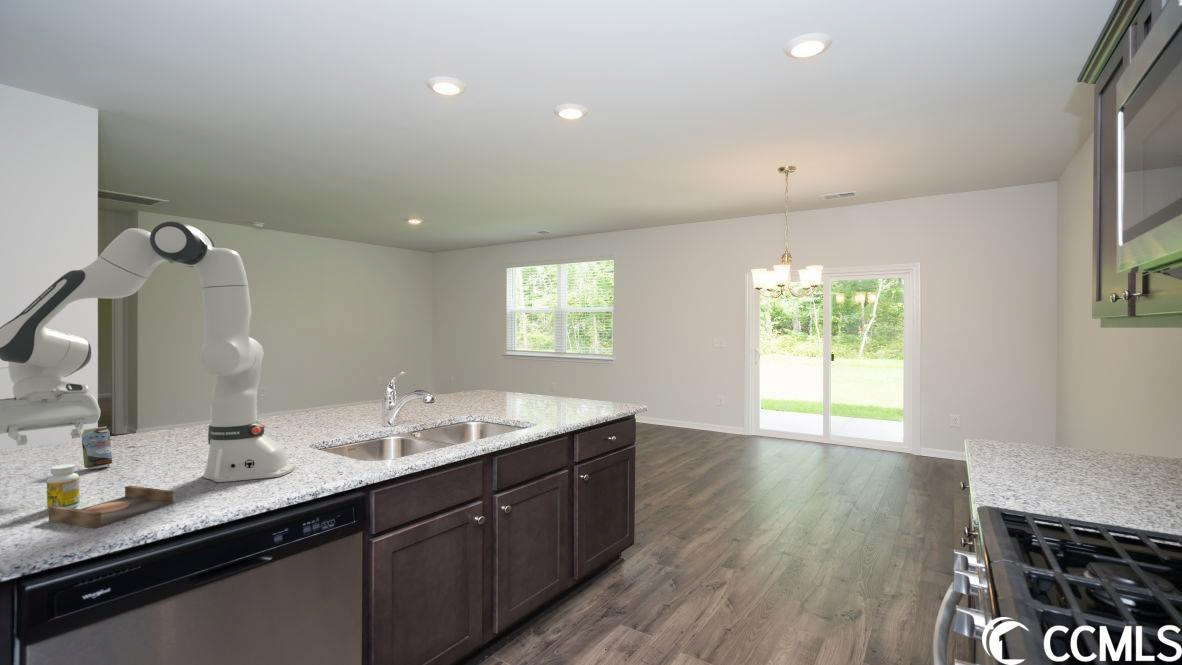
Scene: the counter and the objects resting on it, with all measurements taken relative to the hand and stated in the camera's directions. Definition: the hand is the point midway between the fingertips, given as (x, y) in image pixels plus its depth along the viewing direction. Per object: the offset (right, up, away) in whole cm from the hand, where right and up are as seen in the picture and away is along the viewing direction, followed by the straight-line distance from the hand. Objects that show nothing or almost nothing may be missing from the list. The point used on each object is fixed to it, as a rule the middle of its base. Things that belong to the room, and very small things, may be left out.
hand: (50, 440), depth 131 cm
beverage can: (-12, -13, +25) cm, 31 cm away
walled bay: (+23, -15, -9) cm, 29 cm away
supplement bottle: (+10, -15, -6) cm, 19 cm away
